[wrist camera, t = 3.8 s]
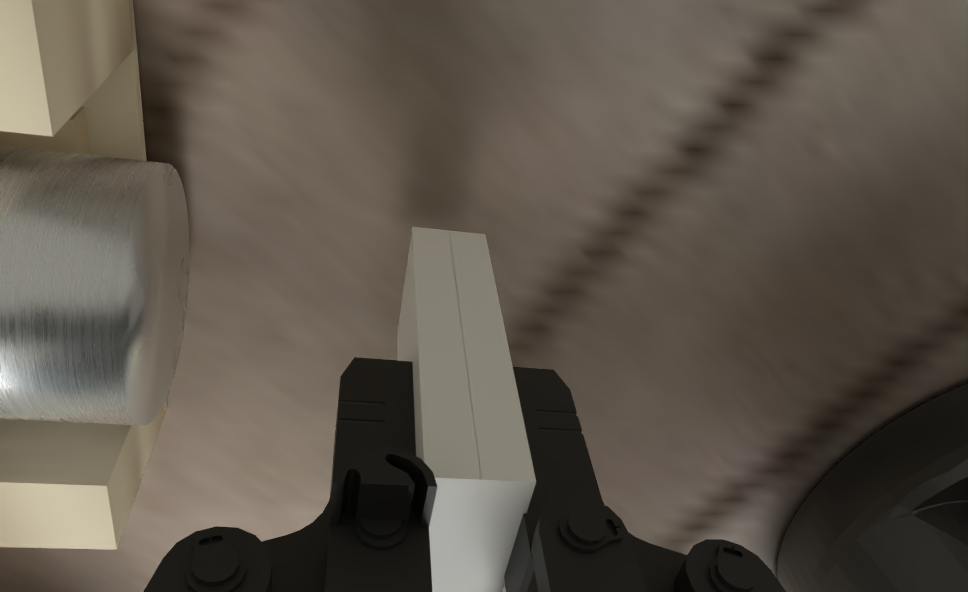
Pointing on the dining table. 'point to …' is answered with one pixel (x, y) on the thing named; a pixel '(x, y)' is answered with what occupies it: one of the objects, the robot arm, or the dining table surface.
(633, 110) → the dining table surface
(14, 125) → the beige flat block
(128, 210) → the axle
